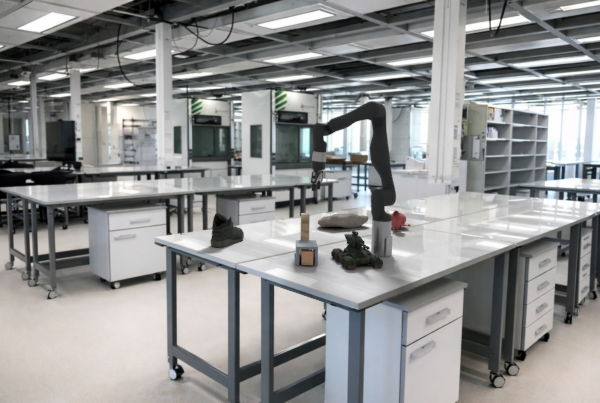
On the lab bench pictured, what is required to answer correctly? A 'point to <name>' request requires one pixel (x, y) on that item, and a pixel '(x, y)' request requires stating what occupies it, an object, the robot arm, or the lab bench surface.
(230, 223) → the sneaker
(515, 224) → the lab bench surface
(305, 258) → the block
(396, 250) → the lab bench surface
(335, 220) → the stone
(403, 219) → the toy
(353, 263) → the toy tank
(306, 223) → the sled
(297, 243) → the tunnel
